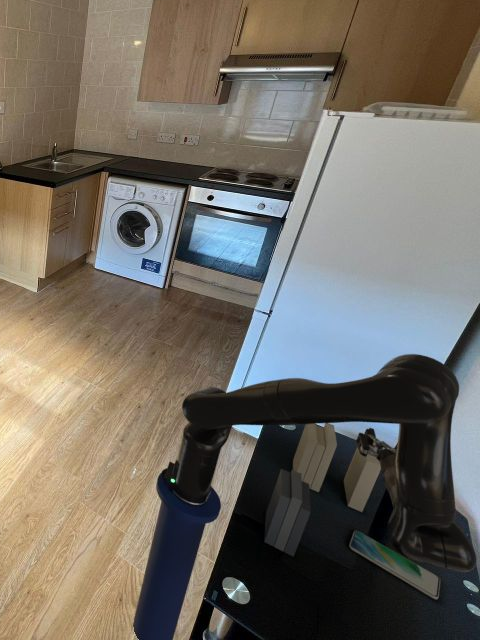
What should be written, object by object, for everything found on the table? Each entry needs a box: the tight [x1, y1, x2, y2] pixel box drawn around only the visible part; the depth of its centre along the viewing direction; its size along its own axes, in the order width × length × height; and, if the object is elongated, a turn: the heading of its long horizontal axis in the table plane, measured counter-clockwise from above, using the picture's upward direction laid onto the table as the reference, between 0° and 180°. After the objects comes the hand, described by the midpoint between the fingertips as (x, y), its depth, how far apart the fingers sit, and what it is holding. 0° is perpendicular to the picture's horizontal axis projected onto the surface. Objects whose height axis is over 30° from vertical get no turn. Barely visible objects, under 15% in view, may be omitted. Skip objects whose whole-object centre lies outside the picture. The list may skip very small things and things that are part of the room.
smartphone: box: [348, 530, 441, 600], centre depth 97 cm, size 7×1×15 cm
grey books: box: [263, 468, 312, 557], centre depth 101 cm, size 6×10×16 cm, turn 143°
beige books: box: [292, 423, 338, 493], centre depth 119 cm, size 6×10×17 cm, turn 143°
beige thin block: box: [343, 442, 382, 513], centre depth 113 cm, size 3×11×16 cm, turn 142°
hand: (393, 439), depth 98 cm, fingers open, 8 cm apart
